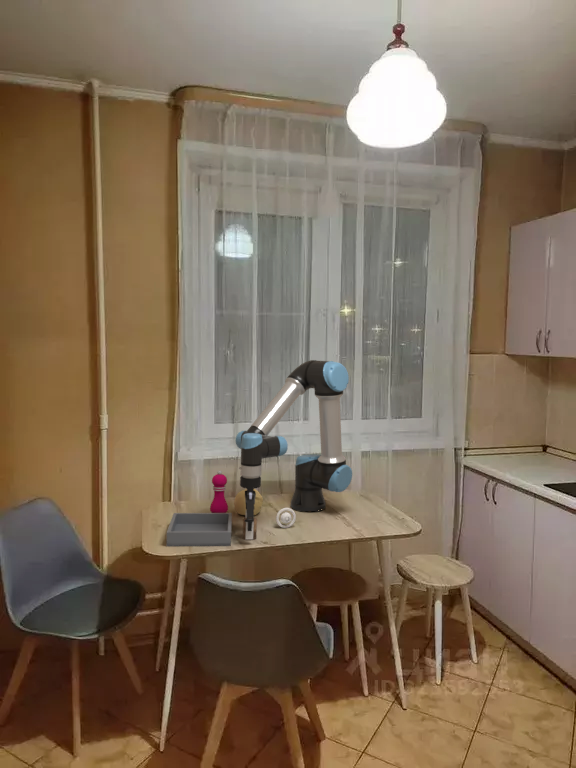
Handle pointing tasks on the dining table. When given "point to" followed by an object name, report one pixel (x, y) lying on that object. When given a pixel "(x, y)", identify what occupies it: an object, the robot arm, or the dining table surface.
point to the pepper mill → (219, 494)
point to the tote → (200, 529)
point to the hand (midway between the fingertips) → (249, 532)
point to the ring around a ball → (285, 517)
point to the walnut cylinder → (253, 529)
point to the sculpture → (241, 505)
